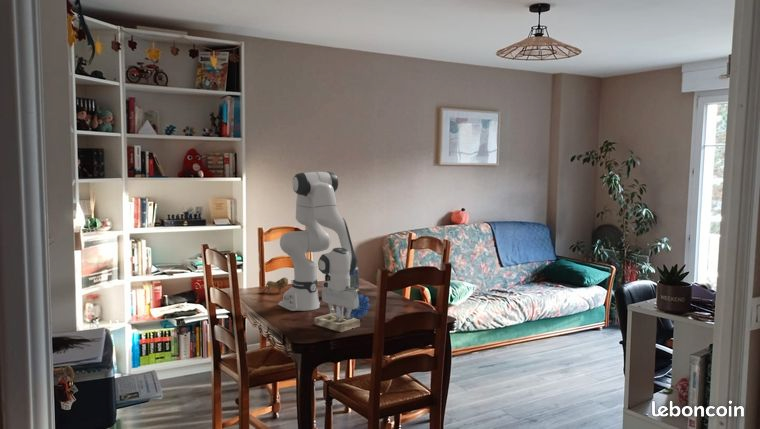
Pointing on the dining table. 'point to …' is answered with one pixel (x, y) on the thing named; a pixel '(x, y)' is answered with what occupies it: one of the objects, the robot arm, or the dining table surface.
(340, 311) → the plug
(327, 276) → the radio
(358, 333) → the dining table surface
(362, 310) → the grapes
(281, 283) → the lion figurine
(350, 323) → the socket block
